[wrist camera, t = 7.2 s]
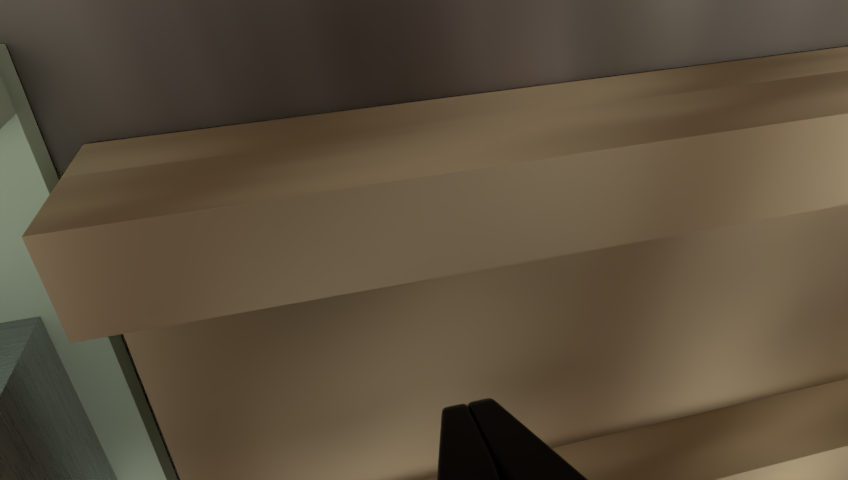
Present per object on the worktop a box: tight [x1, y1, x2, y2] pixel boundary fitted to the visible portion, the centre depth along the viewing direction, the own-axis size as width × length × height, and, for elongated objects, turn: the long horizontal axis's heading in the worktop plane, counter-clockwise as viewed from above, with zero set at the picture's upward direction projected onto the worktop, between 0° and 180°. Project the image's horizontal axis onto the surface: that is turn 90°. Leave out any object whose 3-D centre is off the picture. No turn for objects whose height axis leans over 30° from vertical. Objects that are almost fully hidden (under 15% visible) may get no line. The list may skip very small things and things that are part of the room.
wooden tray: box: [22, 46, 848, 480], centre depth 12 cm, size 18×9×3 cm, turn 93°
